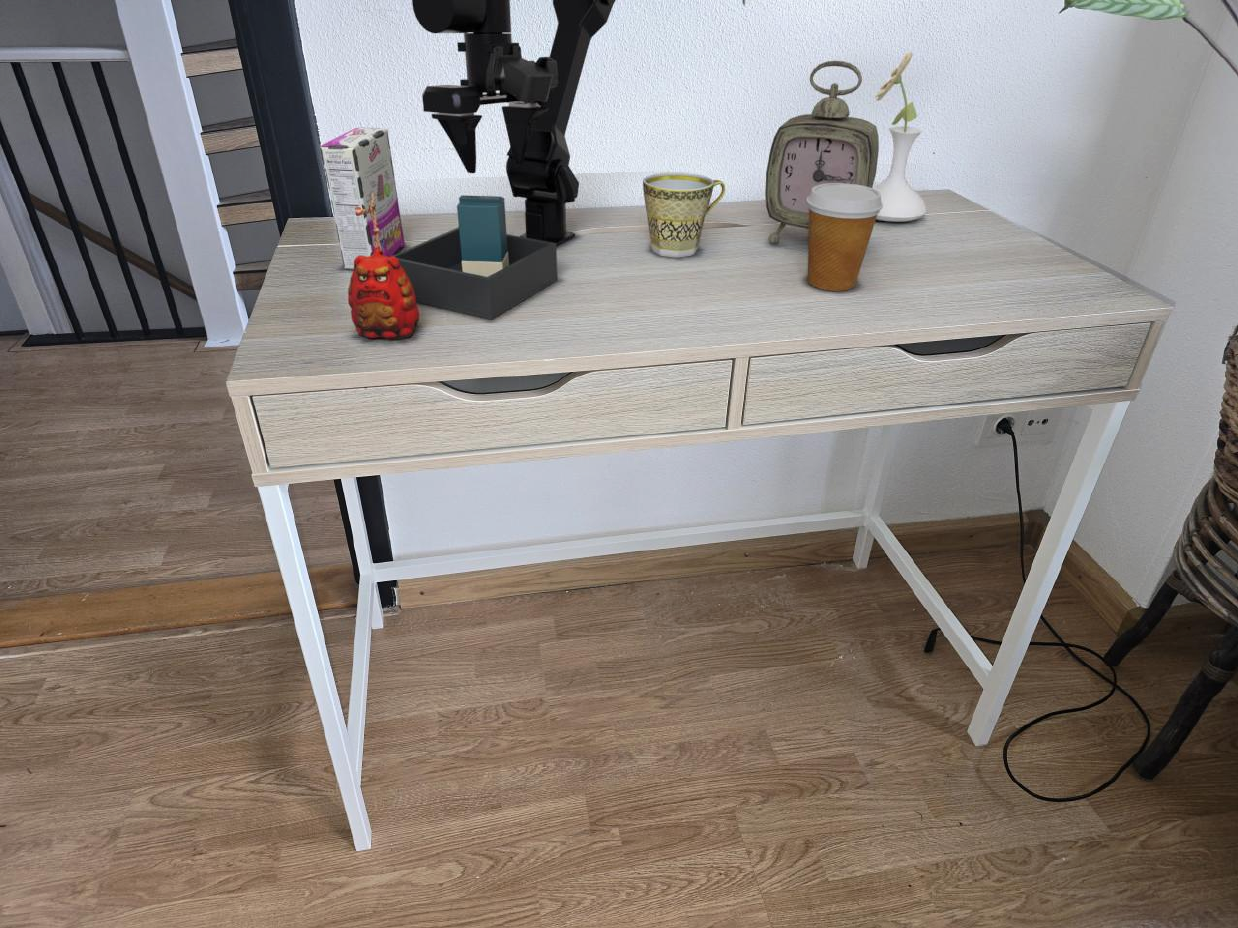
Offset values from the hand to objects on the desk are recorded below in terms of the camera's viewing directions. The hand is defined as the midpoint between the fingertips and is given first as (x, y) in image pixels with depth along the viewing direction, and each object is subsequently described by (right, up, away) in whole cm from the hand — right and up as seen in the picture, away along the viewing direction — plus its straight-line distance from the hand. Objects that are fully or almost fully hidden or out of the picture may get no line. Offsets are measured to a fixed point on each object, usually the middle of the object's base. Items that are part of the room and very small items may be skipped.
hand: (495, 168), depth 106 cm
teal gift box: (-1, -16, -2) cm, 16 cm away
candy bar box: (-19, -9, +9) cm, 23 cm away
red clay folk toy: (-11, -23, -12) cm, 28 cm away
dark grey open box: (-2, -16, 0) cm, 16 cm away
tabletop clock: (+45, -5, +17) cm, 49 cm away
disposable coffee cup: (+45, -14, +3) cm, 47 cm away
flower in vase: (+60, +2, +29) cm, 67 cm away
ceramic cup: (+26, -7, +14) cm, 30 cm away
